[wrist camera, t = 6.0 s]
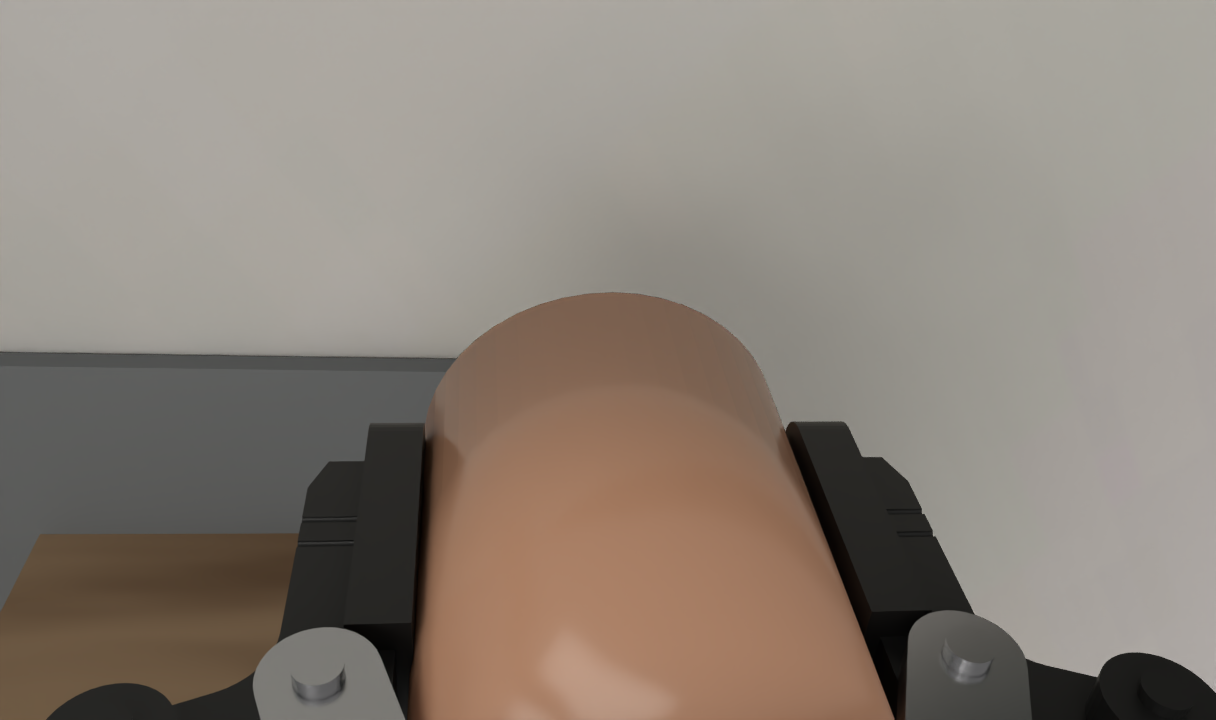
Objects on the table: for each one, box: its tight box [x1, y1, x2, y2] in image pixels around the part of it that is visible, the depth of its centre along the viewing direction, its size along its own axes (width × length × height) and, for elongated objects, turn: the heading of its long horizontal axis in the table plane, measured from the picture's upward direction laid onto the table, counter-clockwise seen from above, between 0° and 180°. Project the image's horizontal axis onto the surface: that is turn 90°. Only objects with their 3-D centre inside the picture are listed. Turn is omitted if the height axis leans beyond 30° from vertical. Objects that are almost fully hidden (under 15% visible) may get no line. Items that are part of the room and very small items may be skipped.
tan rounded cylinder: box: [407, 292, 895, 720], centre depth 13 cm, size 5×5×6 cm
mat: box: [0, 353, 456, 612], centre depth 27 cm, size 16×14×1 cm
